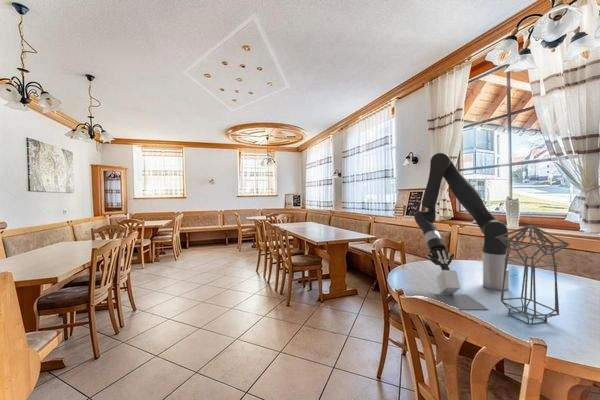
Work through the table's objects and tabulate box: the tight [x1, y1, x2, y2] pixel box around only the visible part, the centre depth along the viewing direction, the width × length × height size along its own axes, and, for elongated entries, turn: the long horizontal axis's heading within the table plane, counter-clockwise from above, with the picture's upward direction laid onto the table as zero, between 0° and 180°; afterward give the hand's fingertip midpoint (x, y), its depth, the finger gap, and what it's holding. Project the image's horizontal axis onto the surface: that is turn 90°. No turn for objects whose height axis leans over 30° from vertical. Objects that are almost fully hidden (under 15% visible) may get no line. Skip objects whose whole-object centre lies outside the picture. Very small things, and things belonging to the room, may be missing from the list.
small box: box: [436, 270, 461, 294], centre depth 115 cm, size 8×6×10 cm
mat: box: [434, 293, 489, 311], centre depth 108 cm, size 14×15×1 cm
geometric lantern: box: [496, 225, 570, 325], centre depth 92 cm, size 16×16×35 cm
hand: (446, 272), depth 116 cm, fingers closed
